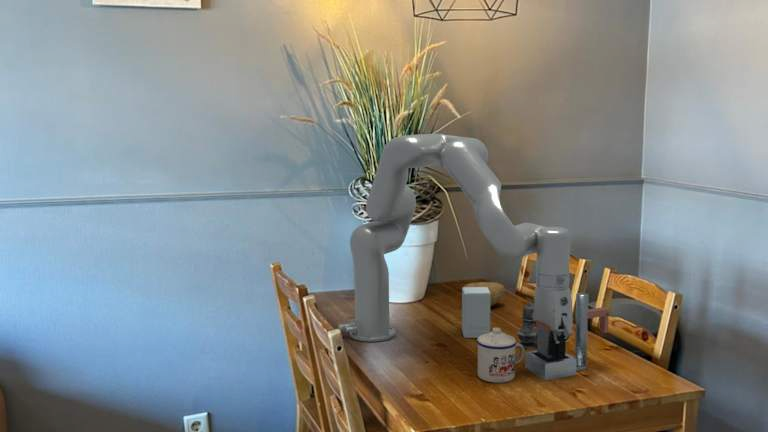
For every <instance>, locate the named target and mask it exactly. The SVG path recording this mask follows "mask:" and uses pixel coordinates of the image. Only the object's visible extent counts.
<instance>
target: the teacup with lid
mask: <svg viewBox="0 0 768 432" xmlns="http://www.w3.org/2000/svg"><path fill="white" fill-rule="evenodd" d="M516 340H517V339H516V338H515V337H514V336H512V335H510V334H508V333H505V332H504V331H502V329H501V328H500V327H493V328H492V331H491V330H490V332H489V333H487V334H483V335H481V336H479V337H478V338H477V339H476V344H477V376H478V378H479V379H480V380H483V381H485V382H489V383H493V384H495V383H498V384H499V383H500V384H501V383H507V382H511V381H512V380H514V378H515V377H516V364H518V363H519V362H521V361H522V359H523V358H524V356H525V349H524V347H523V346H522V345H521V344H519V343H520V342H517V341H516ZM518 346H519V347H518ZM516 347H518V348H519V354H518V355H517V357H516Z"/></svg>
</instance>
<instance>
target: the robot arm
mask: <svg viewBox="0 0 768 432" xmlns="http://www.w3.org/2000/svg"><path fill="white" fill-rule="evenodd" d="M488 160H489V150H488V148H487V147H486V144H485V143H483V142H482V141H481V140H480V139H478V138H474V137H467V136H457V135H452V134H451V135H450V134H449V135H448V134H442V133H425V134H423V133H421V134H419V133H418V134H408V135H401V136H397V137H394V138H391V139H390V140H389V141H387V143H386V144H385V145H384V146H383V149H382V151H381V154H380V157H379V162H378V166H377V170H376V172H375V175H374V178H373V181H372V184H371V188H370V190H369V192H368V196H367V200H366V203H365V212H366V214H367V216H368V218H369V219H370V220H371V221H370V222H366V223H363V224H360V225H359V226H357V227H355V229H354V230H353V231H352V232H351V235H350V239H349V245H350V246H349V247H350V251H351V255H352V263H353V279H354V280H353V281H354V282H353V283H354V317H353V318H351V321H349V322H348V323H338V325H337V328H338V330H339V329H340V330H341V331H340V332H343V331H345V333H349V336H350V337H351V338H352V339H353V340H356V341H361V342H369V343H371V342H373V343H375V342H383V341H384V342H385V341H388V340H390V339H392V338H394V337H395V336H396V330H395V329H394V327H392V326H390V278H389V277H390V274H389V267H388V264H387V261H386V259H385V255H386V254H389V253H392V252H395V251H398V249H400V248H401V247H402V245H403V244H404V241H405V240H406V237H407V235H408V232H409V230H410V226H411V223H412V220H413V216H414V214H415V212H416V207H417V199H416V195H415V192H414V191H413V189H411V187H410V186H408V185H407V182H408V179H409V169H410V168H414V169H415V168H416V169H418V168H428V167H436V166H437V167H444V168H445V170H446V171H447V172H448V174H449V175H450V176H451V177H452V179H453V180H454V181H455V183H456V184H457V185H458V186H459V188H460V190H462V192H463V194H465V196H466V197H467V198H468V199H469V201H470V202H471V204H472V206H473V211H474V216H475V219H476V221H477V224H478V227H479V229H480V231H481V232H482V234H483V236H484V237H485V238H486V239H487V242H489V244H490V245H491V246H492V247H493V249H494V250H495V251H496V252H497V253H498V254H499V255H500V256H501V257H503V258H504V259H507V260H510V261H516V260H519V259H522V258H525V257H527V256H530V255H532V254H534V255H535V254H536V265H535V266H536V267H535V268H536V270H535V271H536V272H535V288H534V289H535V290H534V295H533V307H534V308H533V313H532V318H533V320H534V328H535V332H536V333H538V326H536V320H538V321H540V322H542V323H544V324H546V325H548V326H550V329H551V330H552V331H553V336H554V341H555V342H554V343H553V352H552V358H553V359H554V360H557V359H563V358H565V353H566V347H567V345H566V344H567V343H568V340H569V339H570V337H571V336H572V335H573V333H574V331H573V321H574V320H573V319H574V318H573V315H574V314H573V300H572V299H573V298H572V292H571V289H570V288H569V287H570V262H571V261H570V259H571V255H570V253H571V233H570V231H569V229H568V228H565V227H562V226H561V227H560V226H544V225H540V224H536V223H531V222H523V223H519V224H517V225H514V224H513V222H512V221H511V219H509V217H508V215H507V214H506V213H505V211H504V209H503V206H502V204H501V201H500V199H501V198H500V195H501V191H502V183H501V181H500V180H499V178H498V177H497V176H496V175H495V173H494V172H493V171H492V169H490V167H489V165H488V164H487V163H488ZM558 327H561V329H558ZM558 332H561V335H560V336H559V337H558ZM535 343H536V348H535V349H536V350H537V342H535Z"/></svg>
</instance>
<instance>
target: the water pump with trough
mask: <svg viewBox="0 0 768 432" xmlns="http://www.w3.org/2000/svg"><path fill="white" fill-rule="evenodd" d="M589 295H590V294H588V293H585V292H579V293H576V295H575V296H576V297H575V298H576V301H575V325H574V327H575V329H574V356H572V355H570V354H568V353H567V352H565V358H564V359H561V360H555V361H549V362H546V361H544V360H543V359H541V358H539V357H537V349H536V350H530V351H525V353H524V356H525V360H524V361H525V362H524V363H525V365H524V369H526V370H528V371H529V372H531V373H532V374H534V375H535V376H537V377H538V378H540V379H542V380H544V381H549V380H550V381H551V380H556V379H561V378H568V377H573V376H577V371H584V370H587V355H588V353H587V352H588V349H587V348H588V328H589V327H588V325H589V324H588V323H589V319H593V318H594V319H595V318H596V319H597V318H599V327H598V328H599V329H598V331H599V332H602V333H603V334H606V333H607V334H609V317H610V316H609V313H610V309H609V308H606V307H604V306H603V307H596V308H594V307H593V308H589V299H590V298H589Z"/></svg>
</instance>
